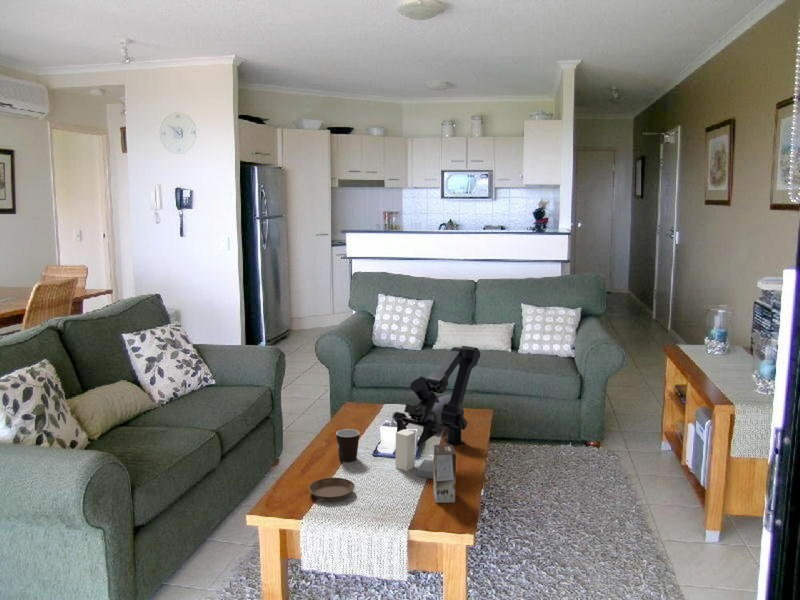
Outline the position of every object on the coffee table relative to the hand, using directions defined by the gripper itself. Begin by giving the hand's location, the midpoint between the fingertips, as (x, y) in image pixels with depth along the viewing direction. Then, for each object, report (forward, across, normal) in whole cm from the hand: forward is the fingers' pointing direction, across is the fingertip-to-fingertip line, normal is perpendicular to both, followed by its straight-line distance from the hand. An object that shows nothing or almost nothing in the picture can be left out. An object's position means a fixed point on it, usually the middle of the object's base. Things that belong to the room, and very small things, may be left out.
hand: (406, 443), depth 245 cm
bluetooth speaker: (-28, -18, +40) cm, 52 cm away
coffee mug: (+11, -22, +2) cm, 25 cm away
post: (+7, 0, +6) cm, 9 cm away
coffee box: (+16, +24, -3) cm, 29 cm away
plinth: (+5, +11, +7) cm, 14 cm away
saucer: (+30, -6, -17) cm, 35 cm away
